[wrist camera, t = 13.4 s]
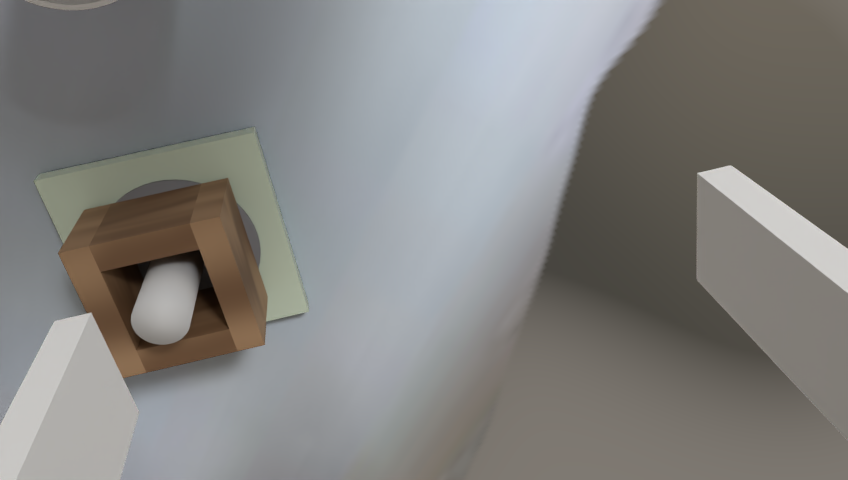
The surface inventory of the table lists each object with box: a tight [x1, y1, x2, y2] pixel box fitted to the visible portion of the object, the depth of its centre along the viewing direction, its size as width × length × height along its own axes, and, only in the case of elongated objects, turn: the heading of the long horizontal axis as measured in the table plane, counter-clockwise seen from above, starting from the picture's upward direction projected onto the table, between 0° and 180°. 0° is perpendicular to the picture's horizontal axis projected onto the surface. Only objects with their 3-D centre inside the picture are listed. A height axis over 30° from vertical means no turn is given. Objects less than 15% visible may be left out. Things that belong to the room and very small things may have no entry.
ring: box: [58, 178, 268, 378], centre depth 40 cm, size 8×8×5 cm
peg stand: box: [34, 127, 309, 345], centre depth 40 cm, size 12×12×8 cm
